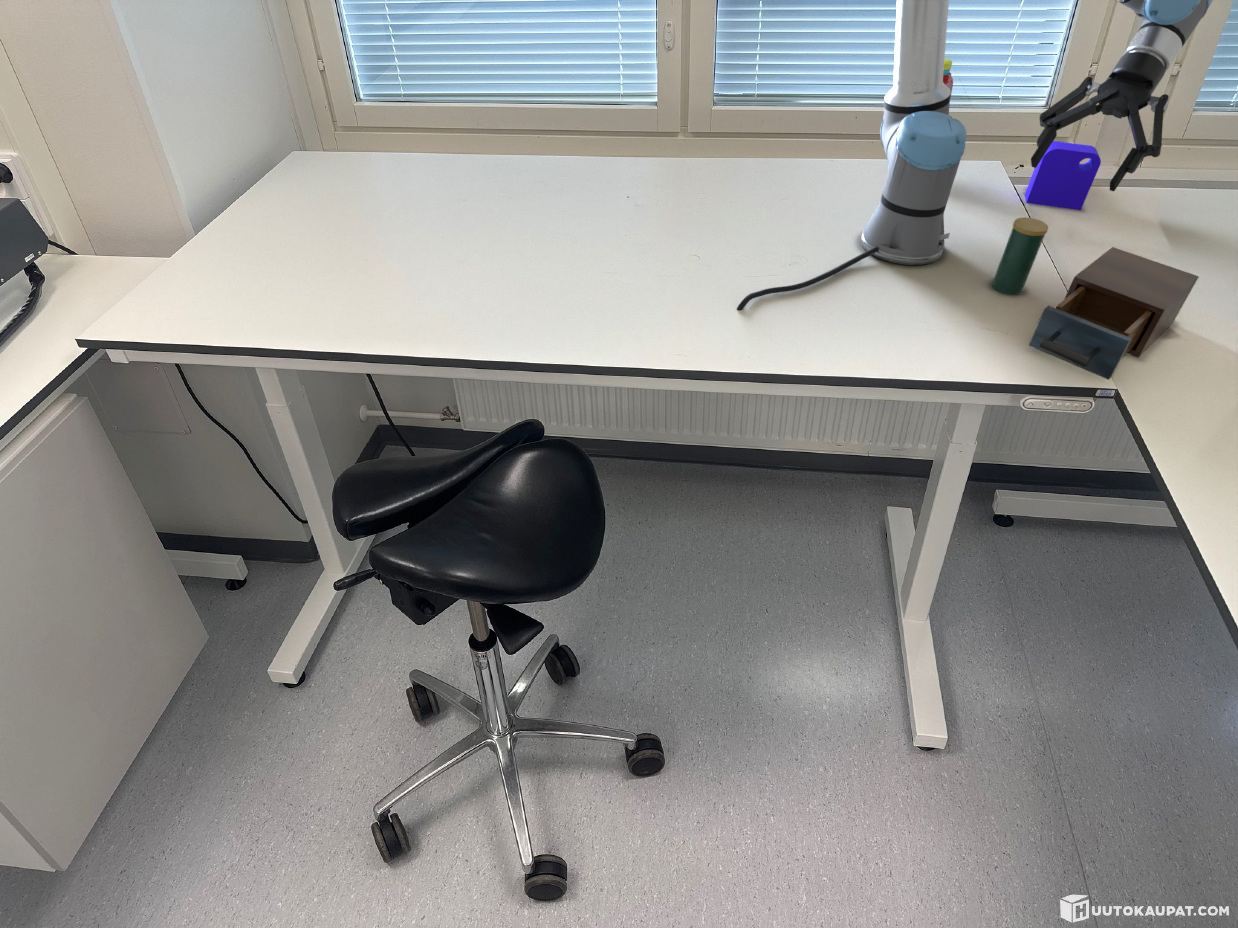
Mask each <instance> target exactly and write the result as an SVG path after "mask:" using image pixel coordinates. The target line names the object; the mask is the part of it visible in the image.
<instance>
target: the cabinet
mask: <svg viewBox="0 0 1238 928" xmlns="http://www.w3.org/2000/svg"><path fill="white" fill-rule="evenodd" d="M1199 278H1200V276H1199V275H1196V274H1193V273H1190V272H1188V271H1185V270H1182V269H1179V268H1176V267H1173V266H1171V265H1167V264H1164V263H1161V262H1158V261H1155V260H1152V259H1150V258H1147V257H1144V256H1141V255H1137V254H1135V253H1132V252H1128V251H1126V250H1124V249H1121V248H1120V249H1119V248H1118V247H1114V246H1111V248H1110V249H1108V250H1107V251H1105V252H1104V253H1103V254H1101V255H1100V256H1099V257H1098V258H1096V259H1095V260H1094V261H1093V262H1091V263H1090V264H1089V265H1087V266H1086V267H1085V268H1084V269H1082V270H1081V271H1080V272H1079V273H1077V274H1076V275H1075V276H1074V277H1073V278H1072V281H1071V284H1070V285H1069V288H1068V289H1067V292H1066V295H1065V297H1064V299H1065V298H1067V297H1068V296H1069V295H1070V294H1072V293H1073V292H1074V291H1075V290H1077V289H1078V288H1079V287H1080V286H1082V285H1083V286H1086V287H1088V288H1091V289H1094V290H1096V291H1099V292H1102V293H1104V294H1107V295H1110V296H1113V297H1115V298H1118V299H1121V300H1123V301H1126V302H1129V303H1131V304H1134V305H1137V306H1139V307H1142V308H1145V309H1147V310H1150V311H1153V312H1155V314H1154V316H1153V317H1152V319H1151V321H1150V323H1149V325H1148V327H1147V329H1146V331H1145V332H1144V334H1143V336H1142V338H1141V340H1140V341H1139V342H1138V343H1137V344H1136V345H1135V346H1134V347H1133V348H1132V349H1131V350H1130V351H1129V352H1128V353H1127V354H1126V355H1130V356H1132V357H1134V358H1137V359H1139V358H1140V357H1141V356H1142V355H1143V354H1144V353H1145V352H1146V351H1147V350H1148V349H1149V348H1150V347H1151V346H1152V345H1153V344H1154V343H1155V342H1156V341H1157V340H1158V339H1159V338H1160V337H1161V336H1162V335H1163V334H1164V333H1165V332H1166V331H1167V330H1168V329H1169V328H1170V327H1171V326H1172V325H1173V324H1174V322H1175V321H1176V318H1177V317H1178V315H1179V313H1180V311H1181V309H1182V308H1183V306H1184V305H1185V303H1186V301H1187V299H1188V298H1189V296H1190V294H1191V292H1192V290H1193V288H1194V286H1195V284H1196V283H1197V281H1198V279H1199Z"/></svg>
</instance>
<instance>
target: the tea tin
mask: <svg viewBox="0 0 1238 928" xmlns="http://www.w3.org/2000/svg"><path fill="white" fill-rule="evenodd" d="M1048 231H1049V225H1048V224H1047V223H1046V222H1045V221H1042V220H1040V219H1037V218H1032V217H1017V218H1015V219H1014V221H1013V223H1012V229H1011V231H1010V234H1009V237H1008V239H1007V242H1006V244H1005V247H1004V250H1003V253H1002V256H1001V258H1000V261H999V262H998V266H997V269H996V272H995V273H994V277H993V279H992V283H991V287H992V289H994V290H995V291H996V292H998V293H1000V294H1003V295H1009V296H1015V295H1020V294H1021V293H1022V292H1023V290H1024V287H1025V285H1026V282H1027V280H1028V278H1029V275H1030V273H1031V271H1032V268H1033V265H1034V263H1035V260H1036V257H1037V255H1038V253H1039V250H1040V248H1041V245H1042V243H1043V241H1044V238H1045V235H1046V234H1047V233H1048Z"/></svg>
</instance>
